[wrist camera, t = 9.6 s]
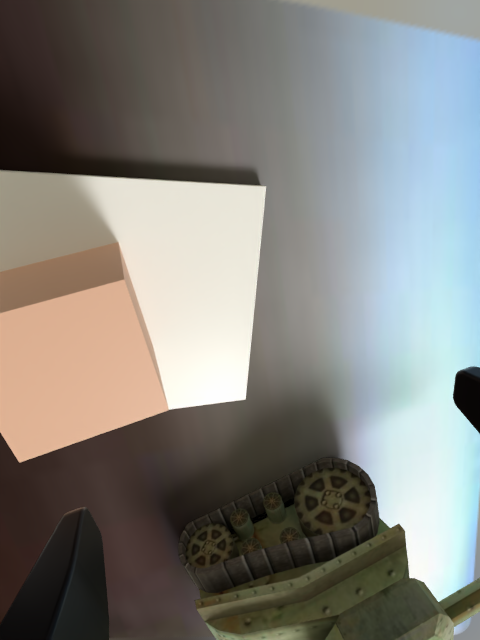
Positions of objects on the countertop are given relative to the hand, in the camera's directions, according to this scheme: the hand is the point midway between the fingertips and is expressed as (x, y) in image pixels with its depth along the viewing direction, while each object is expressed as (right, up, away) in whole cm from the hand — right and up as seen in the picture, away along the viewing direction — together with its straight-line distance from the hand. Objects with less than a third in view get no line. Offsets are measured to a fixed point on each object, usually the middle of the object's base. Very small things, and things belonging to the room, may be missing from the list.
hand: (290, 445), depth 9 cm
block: (-8, +3, +7) cm, 11 cm away
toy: (+4, -11, +19) cm, 23 cm away
